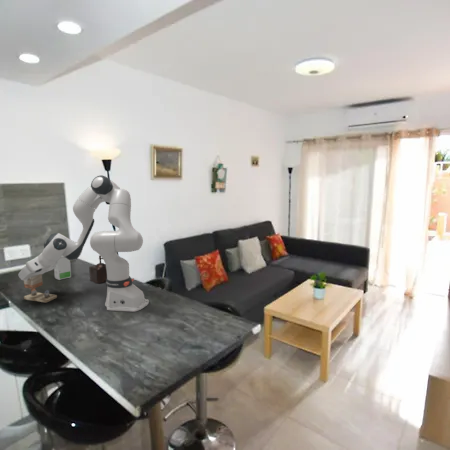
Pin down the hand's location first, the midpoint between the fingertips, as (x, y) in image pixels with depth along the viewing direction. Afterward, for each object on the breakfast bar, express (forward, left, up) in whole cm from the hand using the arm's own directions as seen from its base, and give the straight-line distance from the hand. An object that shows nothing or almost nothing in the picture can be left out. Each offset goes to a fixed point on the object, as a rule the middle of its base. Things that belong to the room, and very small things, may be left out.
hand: (32, 277), depth 162 cm
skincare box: (+10, -31, -11) cm, 35 cm away
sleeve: (-1, 0, -5) cm, 5 cm away
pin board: (-5, 0, -11) cm, 12 cm away
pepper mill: (-18, -37, -11) cm, 43 cm away
